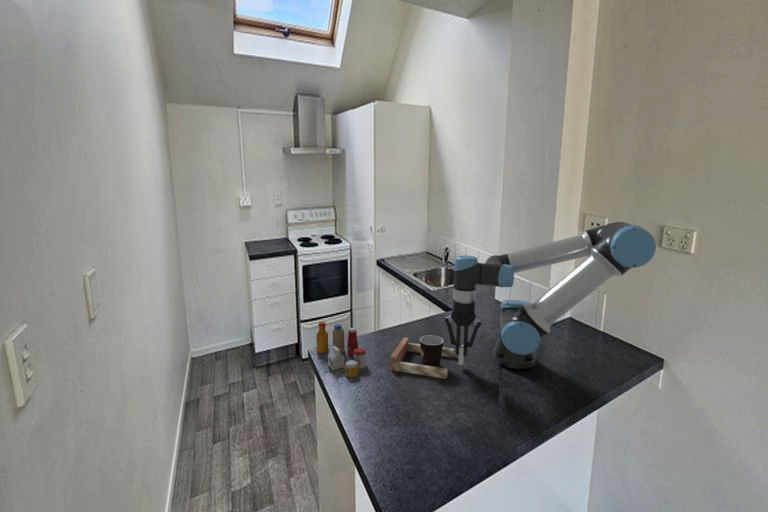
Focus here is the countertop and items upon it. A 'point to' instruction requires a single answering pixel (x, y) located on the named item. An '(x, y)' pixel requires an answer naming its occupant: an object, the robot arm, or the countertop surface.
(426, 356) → the dark brown cup
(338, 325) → the toy food set
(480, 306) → the countertop surface
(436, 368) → the u-shaped wooden frame
